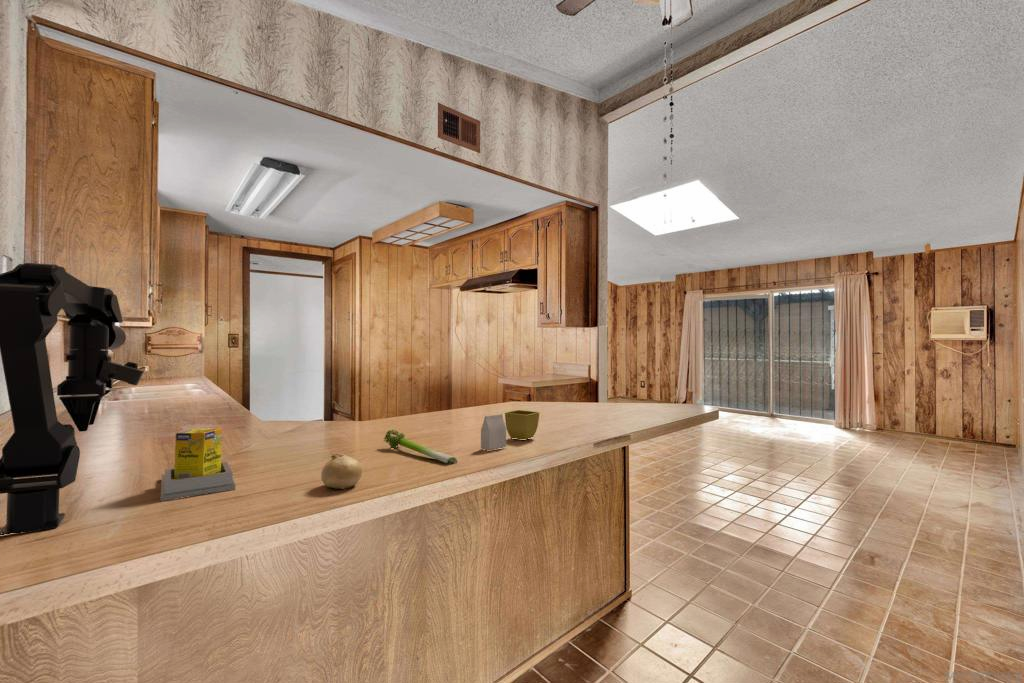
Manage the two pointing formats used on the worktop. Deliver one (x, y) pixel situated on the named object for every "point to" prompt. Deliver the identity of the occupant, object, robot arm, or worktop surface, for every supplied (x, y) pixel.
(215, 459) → the supplement box
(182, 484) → the gray rectangular tray
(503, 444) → the grey gable carton
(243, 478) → the worktop surface
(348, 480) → the onion
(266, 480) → the worktop surface
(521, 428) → the flower pot
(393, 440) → the green celery stalk
